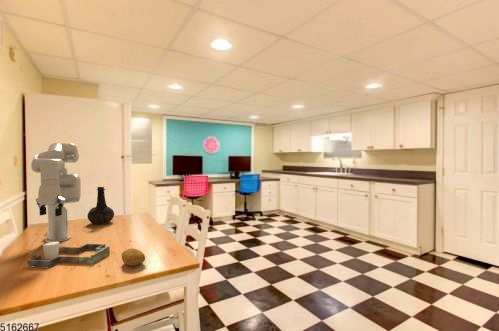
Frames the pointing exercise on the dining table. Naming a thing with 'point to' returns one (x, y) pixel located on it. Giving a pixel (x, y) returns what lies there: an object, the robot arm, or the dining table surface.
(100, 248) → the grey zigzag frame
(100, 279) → the dining table surface
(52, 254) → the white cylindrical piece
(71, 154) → the robot arm
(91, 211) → the glass bottle
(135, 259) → the potato
